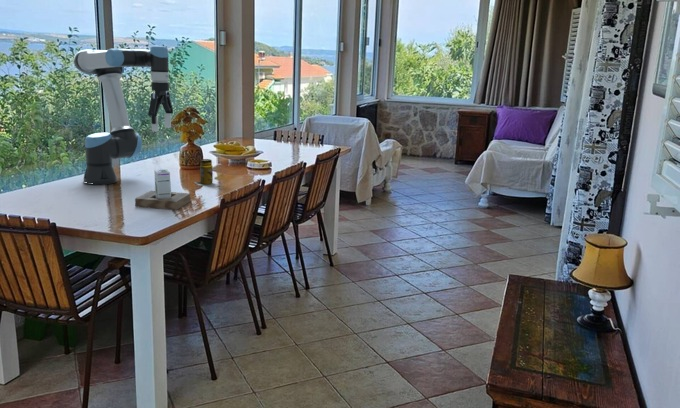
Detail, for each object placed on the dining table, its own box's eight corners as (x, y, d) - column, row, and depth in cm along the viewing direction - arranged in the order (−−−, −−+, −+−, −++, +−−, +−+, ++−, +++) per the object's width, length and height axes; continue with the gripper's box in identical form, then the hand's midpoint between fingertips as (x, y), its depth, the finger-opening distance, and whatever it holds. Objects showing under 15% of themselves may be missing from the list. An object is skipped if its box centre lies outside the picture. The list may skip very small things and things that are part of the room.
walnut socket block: (135, 206, 248) (135, 198, 247) (151, 198, 262) (151, 190, 261) (176, 209, 245) (176, 201, 245) (190, 201, 260) (190, 193, 259)
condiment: (215, 184, 294) (215, 160, 291) (199, 185, 290) (198, 161, 287) (210, 181, 300) (209, 158, 297) (193, 182, 296) (193, 159, 293)
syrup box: (171, 205, 253) (170, 171, 249) (157, 206, 250) (156, 172, 246) (169, 201, 257) (168, 169, 254) (155, 202, 255) (154, 169, 251)
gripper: (155, 83, 251) (157, 133, 257) (179, 81, 275) (180, 126, 281) (138, 82, 252) (140, 132, 258) (164, 80, 276) (165, 125, 282)
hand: (161, 129), depth 269 cm, fingers open, 13 cm apart
